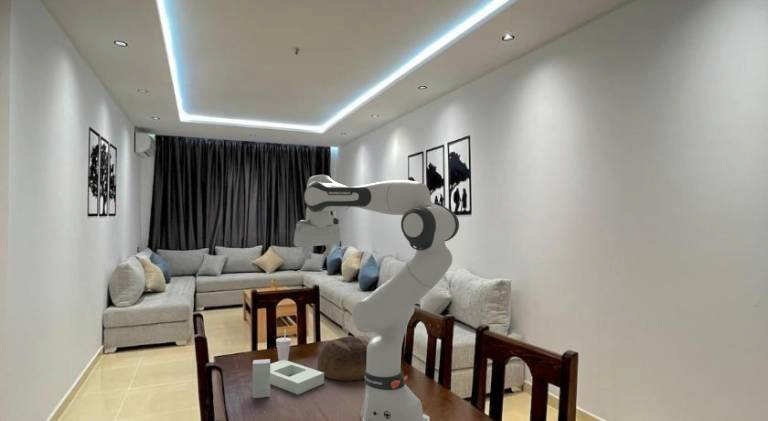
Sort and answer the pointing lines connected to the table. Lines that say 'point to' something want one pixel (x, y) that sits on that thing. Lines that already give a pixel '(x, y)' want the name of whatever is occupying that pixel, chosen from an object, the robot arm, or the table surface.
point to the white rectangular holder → (294, 376)
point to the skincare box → (261, 378)
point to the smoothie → (283, 347)
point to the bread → (344, 359)
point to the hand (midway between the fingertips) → (317, 258)
